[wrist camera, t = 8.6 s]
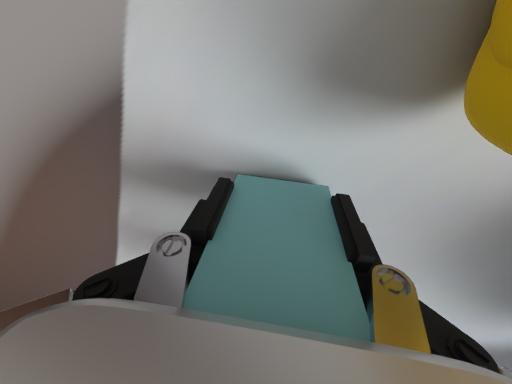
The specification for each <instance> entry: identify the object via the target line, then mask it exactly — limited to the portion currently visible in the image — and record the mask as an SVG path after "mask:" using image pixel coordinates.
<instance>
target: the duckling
mask: <svg viewBox="0 0 512 384" xmlns="http://www.w3.org/2000/svg"><path fill="white" fill-rule="evenodd" d="M464 108H465V113H466V116H467V118H468V120H469V122H470V123H471V125H472V126H473V127H474V128H475V129H476V130H477V131H478V132H479V133H480V134H481V135H482V136H483V137H484V138H485V139H487V140H488V141H489V142H491V143H492V144H494V145H495V146H497V147H499V148H500V149H502V150H503V151H505V152H507V153H508V154H511V155H512V0H497V1H496V4H495V8H494V11H493V15H492V20H491V26H490V28H489V30H488V32H487V35H486V37H485V39H484V41H483V43H482V45H481V47H480V49H479V52H478V54H477V56H476V58H475V61H474V63H473V65H472V68H471V70H470V73H469V76H468V79H467V83H466V88H465V95H464Z"/></svg>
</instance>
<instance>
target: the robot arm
mask: <svg viewBox="0 0 512 384" xmlns="http://www.w3.org/2000/svg"><path fill="white" fill-rule="evenodd" d="M233 189H234V182H231V179H229V178H222V177H220V178H219V179H218V181H217V183H216V185H215V186H214V188H213V190H212V191H211V193H210V195H209V197H208V198H207V200H203V199H201V200H199V202H198V203H197V205H196V207H195V208H194V210H193V211H192V213H191V215H190V216H189V218H188V219H187V221H186V223H185V224H184V226H183V227H182V229H181V231H180V232H171V233H167V234H164V235H162V236H160V237H159V238H158V239H156V240H155V241H154V243H153V245H152V247H151V250H150V253H147V254H145V255H142V256H140V257H137V258H135V259H132V260H130V261H128V262H125V263H123V264H120V265H118V266H115V267H113V268H110V269H108V270H105V271H103V272H100V273H98V274H96V275H94V276H92V277H90V278H88V279H87V280H85V281H84V282H83V283H82V284H81V285H80V286H79V287H78V288H77V289H76V290H73V291H72V290H71V289H70V288H69V289H66V290H63V291H60V292H57V293H54V294H51V295H48V296H45V297H42V298H39V299H36V300H33V301H30V302H27V303H24V304H21V305H18V306H15V307H12V308H10V309H6V310H3V311H0V384H512V371H510V370H509V369H507V368H506V367H504V366H502V367H501V368H498V366H497V364H496V363H495V361H494V360H493V358H492V357H491V355H490V354H489V353H488V352H487V351H486V350H485V349H484V348H483V347H482V346H481V345H480V344H478V343H477V342H476V341H475V340H473V339H472V338H471V337H469V336H468V335H467V334H465V333H464V332H462V331H461V330H460V329H458V328H457V327H456V326H454V325H453V324H451V323H450V322H449V321H447V320H446V319H445V318H443V317H442V316H440V315H439V314H438V313H436V312H435V311H434V310H432V309H431V308H429V307H428V306H427V305H425V304H424V303H423V302H421V301H420V300H418V297H417V293H416V289H415V286H414V284H413V282H412V281H411V280H410V278H409V277H408V276H407V275H405V274H404V273H403V272H402V271H400V270H398V269H397V268H394V267H392V266H389V265H383V264H382V262H381V260H380V257H379V255H378V253H377V251H376V248H375V246H374V244H373V242H372V240H371V237H370V235H369V233H368V231H367V228H366V226H365V225H364V223H361V221H360V219H359V217H358V214H357V212H356V210H355V208H354V205H353V203H352V201H351V198H350V196H349V195H345V194H338V193H337V194H336V195H335V196H332V197H331V200H330V201H331V205H332V208H333V212H334V215H335V219H336V222H337V226H338V229H339V233H340V236H341V240H342V243H343V247H344V250H345V254H346V257H347V261H348V262H351V263H352V266H353V270H354V273H355V276H356V280H357V283H358V286H359V290H360V293H361V296H362V299H363V303H364V306H365V309H366V313H367V316H368V319H369V323H370V342H368V341H363V340H357V339H352V338H346V337H341V336H336V335H330V334H325V333H319V332H314V331H308V330H303V329H297V328H292V327H286V326H281V325H275V324H270V323H264V322H258V321H253V320H247V319H242V318H236V317H230V316H224V315H219V314H213V313H207V312H202V311H196V310H190V309H184V302H185V294H186V290H187V288H188V286H189V284H190V281H191V279H192V277H193V275H194V272H195V270H196V268H197V265H198V263H199V261H200V259H201V256H202V254H203V252H204V249H205V247H206V245H207V243H208V240H211V241H212V239H213V237H214V234H215V232H216V229H217V227H218V225H219V222H220V220H221V218H222V215H223V213H224V210H225V208H226V206H227V203H228V201H229V198H230V196H231V194H232V191H233Z"/></svg>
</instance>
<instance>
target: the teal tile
mask: <svg viewBox="0 0 512 384" xmlns="http://www.w3.org/2000/svg"><path fill="white" fill-rule="evenodd" d="M330 200H331V194H330V191H329V187H328V186H321V185H314V184H307V183H299V182H292V181H284V180H277V179H270V178H262V177H255V176H247V175H240V174H237V176H236V179H235V181H234V189H233V191H232V194H231V196H230V198H229V201H228V203H227V206H226V208H225V210H224V213H223V215H222V218H221V220H220V222H219V225H218V227H217V229H216V232H215V234H214V237H213V239H212V241H211V240H208V243H207V245H206V247H205V249H204V252H203V254H202V256H201V259H200V261H199V263H198V265H197V268H196V270H195V272H194V275H193V277H192V279H191V281H190V284H189V286H188V288H187V290H186V294H185V302H184V309H190V310H196V311H202V312H207V313H213V314H219V315H224V316H230V317H236V318H242V319H247V320H253V321H258V322H264V323H270V324H275V325H281V326H286V327H292V328H297V329H303V330H308V331H314V332H319V333H325V334H330V335H336V336H341V337H346V338H352V339H357V340H363V341H368V342H370V323H369V319H368V316H367V313H366V309H365V306H364V303H363V299H362V296H361V293H360V290H359V286H358V283H357V280H356V276H355V273H354V270H353V266H352V263H351V262H348V261H347V257H346V254H345V250H344V247H343V243H342V240H341V236H340V233H339V229H338V226H337V222H336V219H335V215H334V212H333V208H332V205H331V201H330Z"/></svg>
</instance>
